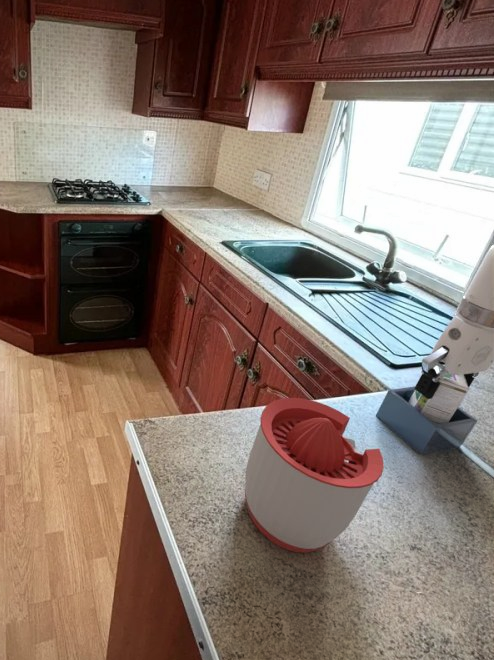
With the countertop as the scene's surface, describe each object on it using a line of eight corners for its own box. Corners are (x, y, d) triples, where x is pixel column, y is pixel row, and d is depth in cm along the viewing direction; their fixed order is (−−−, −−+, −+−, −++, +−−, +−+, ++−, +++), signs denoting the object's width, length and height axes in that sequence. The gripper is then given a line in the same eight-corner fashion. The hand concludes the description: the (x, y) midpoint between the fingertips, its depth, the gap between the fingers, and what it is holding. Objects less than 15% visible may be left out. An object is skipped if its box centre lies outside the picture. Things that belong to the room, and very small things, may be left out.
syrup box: (398, 416, 86) (428, 361, 80) (431, 427, 84) (464, 372, 77) (401, 433, 82) (432, 376, 75) (435, 446, 79) (471, 388, 73)
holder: (412, 409, 89) (426, 384, 86) (460, 447, 80) (478, 420, 77) (375, 415, 86) (388, 389, 83) (420, 455, 77) (437, 428, 74)
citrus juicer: (373, 558, 58) (436, 461, 49) (265, 577, 54) (311, 475, 45) (307, 467, 71) (347, 378, 63) (217, 477, 68) (246, 384, 59)
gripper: (471, 327, 65) (423, 410, 72) (542, 321, 70) (490, 399, 77) (428, 305, 71) (388, 383, 79) (496, 300, 76) (452, 375, 84)
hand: (439, 391), depth 78 cm, fingers closed on syrup box, 8 cm apart
